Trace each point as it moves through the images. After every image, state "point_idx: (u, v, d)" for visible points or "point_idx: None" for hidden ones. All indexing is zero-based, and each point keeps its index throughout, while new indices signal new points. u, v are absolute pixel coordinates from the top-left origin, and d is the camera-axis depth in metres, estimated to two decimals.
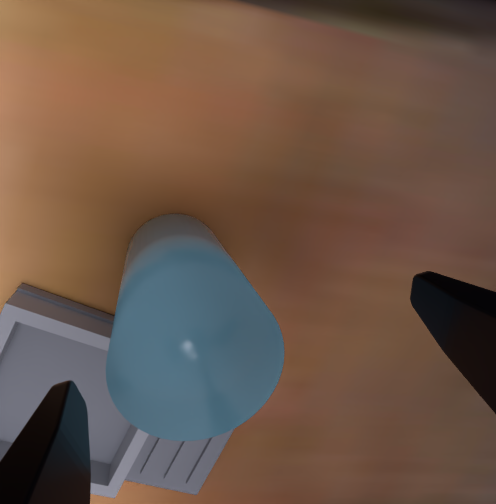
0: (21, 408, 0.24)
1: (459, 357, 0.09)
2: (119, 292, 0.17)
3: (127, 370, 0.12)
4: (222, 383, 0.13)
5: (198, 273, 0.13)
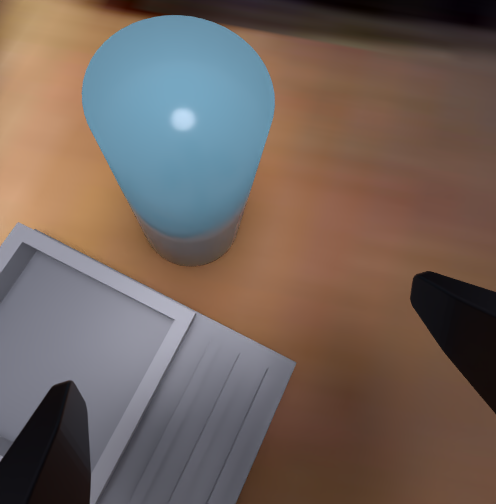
0: (1, 374, 0.20)
1: (459, 357, 0.09)
2: None
3: (105, 85, 0.12)
4: (205, 116, 0.12)
5: None
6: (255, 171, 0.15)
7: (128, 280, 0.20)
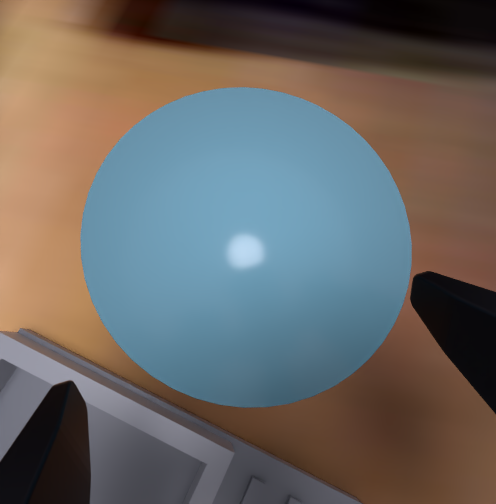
0: None
1: (459, 357, 0.09)
2: None
3: (122, 220, 0.07)
4: (297, 272, 0.07)
5: None
6: None
7: (144, 409, 0.15)
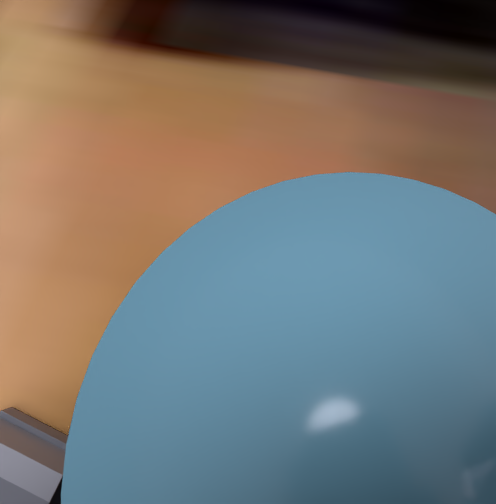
0: None
1: None
2: None
3: (141, 453, 0.03)
4: None
5: None
6: None
7: None
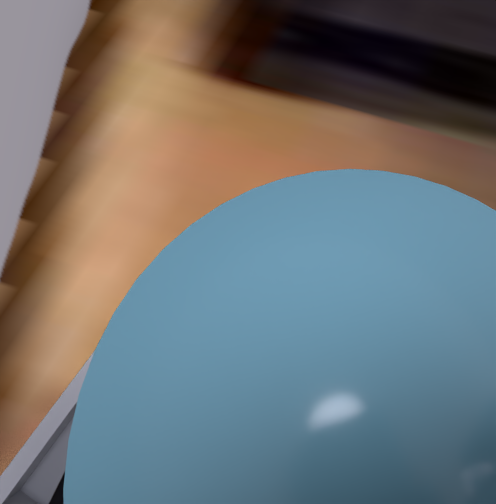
0: None
1: None
2: None
3: (144, 447, 0.03)
4: None
5: None
6: None
7: None
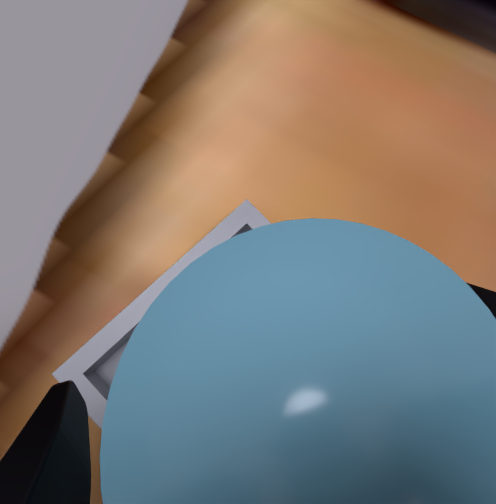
0: None
1: None
2: None
3: (156, 427, 0.05)
4: (396, 494, 0.05)
5: None
6: None
7: None
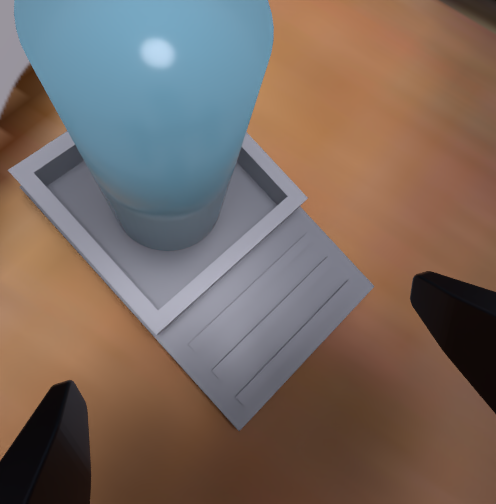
0: None
1: (459, 357, 0.09)
2: None
3: None
4: (182, 46, 0.09)
5: None
6: (244, 132, 0.12)
7: (257, 146, 0.21)
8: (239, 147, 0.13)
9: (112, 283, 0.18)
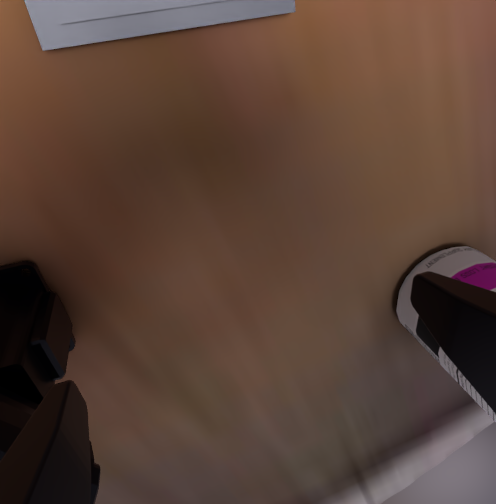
0: None
1: (459, 357, 0.09)
2: None
3: None
4: None
5: None
6: None
7: None
8: None
9: None
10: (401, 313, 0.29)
